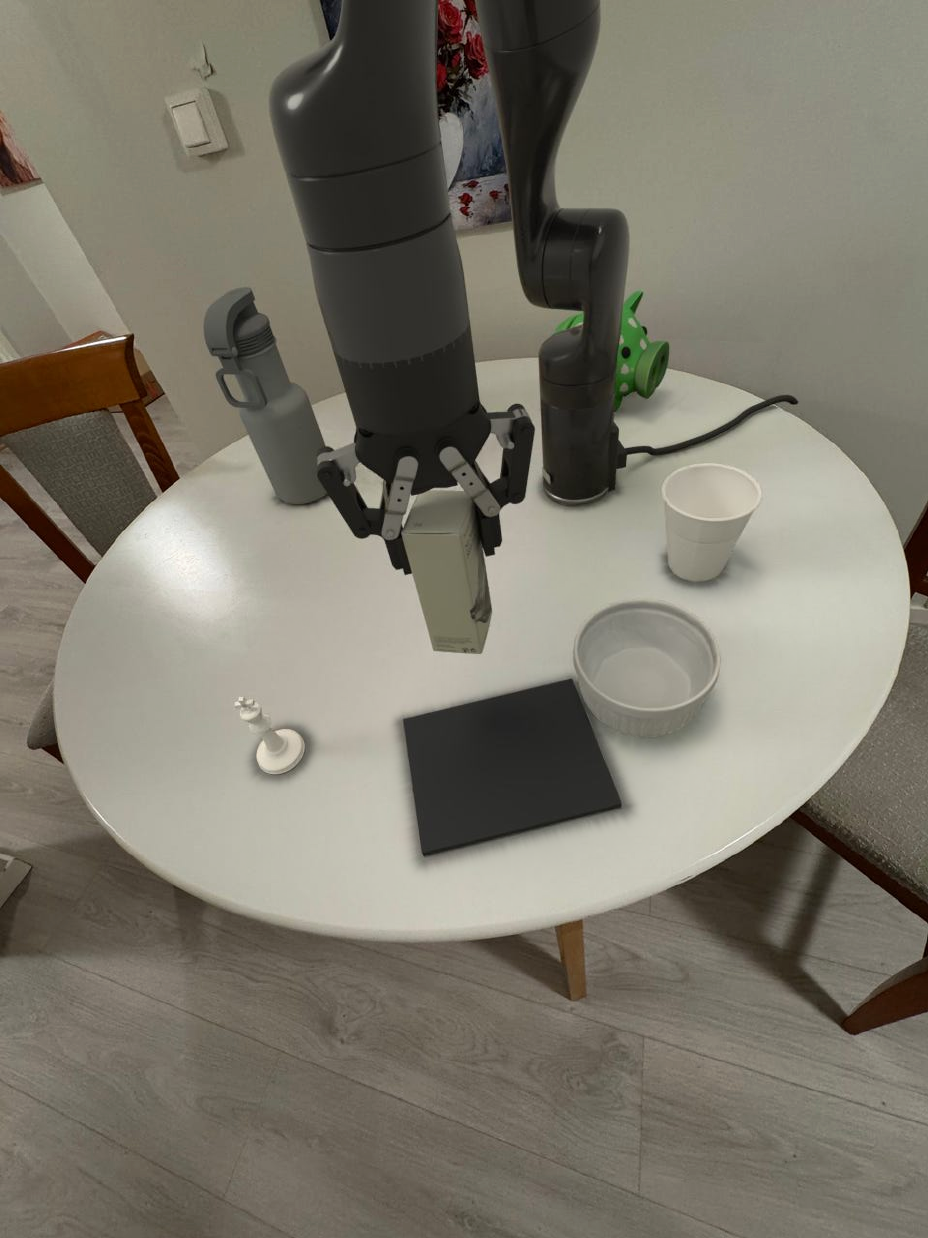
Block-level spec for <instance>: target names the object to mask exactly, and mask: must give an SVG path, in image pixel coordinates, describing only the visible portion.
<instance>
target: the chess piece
mask: <svg viewBox="0 0 928 1238" xmlns="http://www.w3.org/2000/svg"><path fill="white" fill-rule="evenodd" d="M234 707H235V709H240V710H239V718H240V719H241V720H242V721H244V722H247V723H249V725H248V726H249V727H248V728H249V732H250V733H251V734H253V735H260V737H261V738H262V741H261V742H260V743H259V745H258V748H257V750H256V761H257V764H258V765H259V768H260V770H262V772H265V773H266V774H269V775H281V774H285V773H288V772H289V771H291V770H292V769H293V768H295V767H296V766H297V765H298V764H299V763H300V762H301V760H302V758H303V757H304V755H305V750H306V749H305V748H306V745H305V744H306V743H305V740H304V738H303V737H302V736H301V735H300V733H298V732H297V731H295V730H293V729H288V728H281V729H278V730H273V728H271V725H272V718H271V717H270V716H269V715H267V714H265V713H263V712H262V711H263V710H262V706H261V704H260V703H259V702H257V701H255V700H254V699H247V698H245V696H239V697H238V701H234Z"/></svg>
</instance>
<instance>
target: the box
mask: <svg viewBox="0 0 928 1238" xmlns="http://www.w3.org/2000/svg"><path fill="white" fill-rule="evenodd" d="M401 534H402V538H403V542H404V545H405V549H406V553H407V556H408V560H409V564H410V567H411V571H412V574H411V575H412V578H413V583H414V585H415V589H416V593H417V595H418V599H419V603H420V607H421V610H422V614H423V617H424V621H425V625H426V628H427V633H428V636H429V640H430V644H431V647H432V651H433V652H439V653H440V652H442V653H454V654H471V655H481V654H483V652H484V648H485V645H486V641H487V639H488V634H489V630H490V626H491V621H492V620H491V619H492V616H493V607H492V599H491V593H490V586H489V580H488V573H487V565H486V561H485V560H486V559H485V553H484V550H483V547H482V544H481V539H480V534H479V527H478V521H477V514H476V507H475V502H474V500H473V499H470V497H469V496H468V495H467V493H466V492H465V491H464V490H441V489H440V490H439V489H438V490H437V489H435V490H434V489H431V490H429V491H427V492H425V493H422V494H418V495H415V499H414V501H413V503H412V505H411V508H410V510H409V512H408V515H407V517H406V520H405V523H404V525H403V530H402V532H401Z"/></svg>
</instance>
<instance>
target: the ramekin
mask: <svg viewBox="0 0 928 1238" xmlns="http://www.w3.org/2000/svg"><path fill="white" fill-rule="evenodd" d="M719 645H720V644H719V643H718V640H717V638H716V636H715V634H714V632H712V630H711V628H710V627H709V626H708V625H707V624H706V623H705V622H704V621H703V620H702V619H701V618H700V617H699V616H697V615H696V614H694V613H693V612H691V611H689V610H688V609H686V608H684V607H681V606H680V605H677V604H674V603H671V602H669V601H664V600H659V599H654V598H629V599H622V600H618V601H615V602H612V603H609V604H607V605H604V606H602V607H600V608H598V609H597V610H595V611H594V612H593V613H591V614H590V615H589V616H588V617H587V618H586V619H584V621H583V622H582V623H581V625H580V627H579V628H578V630H577V632H576V635H575V637H574V641H573V648H572V663H573V668H574V671H575V674H576V677H577V680H578V686H579V689H580V693H581V695H582V699H583V701H584V703H585V705H586V707H587V708H588V709H589V710H590V712H591V714H592V715H593V716H595V717H596V719H597V720H598V721H600V722H601V723H602V724H603V725H605V726H607V727H608V728H610V729H611V730H614V731H616V732H618V733H622V734H625V735H629V736H632V737H640V738H654V737H662V736H664V735H665V736H666V735H669V734H671V733H674V732H677V730H679V729H682V728H683V727H685V725H687V724H689V723H690V722H691V720H692V719H694V718H695V716H696V714H697V713H698V711H699V710H700V708H701V707H702V705H703V704H704V701H705V700H706V699H707V698H708V697H709V696H710V694H711V693H712V692H713V690H714V689H715V686H716V684H717V682H718V679H719V675H720V671H721V665H722V656H721V650H720V646H719Z"/></svg>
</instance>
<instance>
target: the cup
mask: <svg viewBox="0 0 928 1238" xmlns="http://www.w3.org/2000/svg"><path fill="white" fill-rule="evenodd" d="M661 496H662V498H663V501H664V502H663V503H664V518H665V534H666V535H665V536H666V548H667V549H666V550H667V552H666V553H667V564H668V567H669V570H671V572H672V574H675V575H676V576H677V577H679V578H680V579H683V580H686V581H690V582H697V583H698V582H700V583H701V582H706V581H710V580H713V579H715V578H717V577H718V576H719V575H720V574H721V573H722V572H723V570H724V568H725V566H726V564H727V562H728V560H729V558H730V556H731V554H732V553H733V551H734V549H735V546H736V545H737V543H738V541H739V540H740V538H741V536H742V533H743V531H744V530H745V528H746V526H747V524H748V523H749V521H750V519H751V517H752V515H753V513H754V512H755V511H756V509H758V508H759V506H760V505H761V503H762V500H763V490H762V487H761V485H760V484H759V482H758V480H757V479H755V478H754V476H753V475H751V474H750V473H748V472H746V471H744V470H743V469H740V468H738V467H735V466H732V465H728V464H721V463H715V462H713V463H712V462H707V463H706V462H703V463H701V462H700V463H694V464H690V465H686V466H682V467H680V468H678V469H676V470H674V471H673V472H671V473H670V474H669V475H668V476H667V477H666V478H665V479H664V481H663V483H662V485H661Z"/></svg>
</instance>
